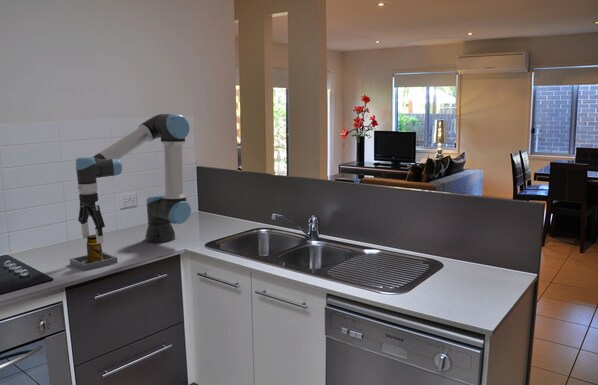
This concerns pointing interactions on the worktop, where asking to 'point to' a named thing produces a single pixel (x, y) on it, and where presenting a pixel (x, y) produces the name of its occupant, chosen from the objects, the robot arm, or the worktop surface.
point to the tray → (106, 261)
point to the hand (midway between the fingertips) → (92, 240)
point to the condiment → (93, 250)
